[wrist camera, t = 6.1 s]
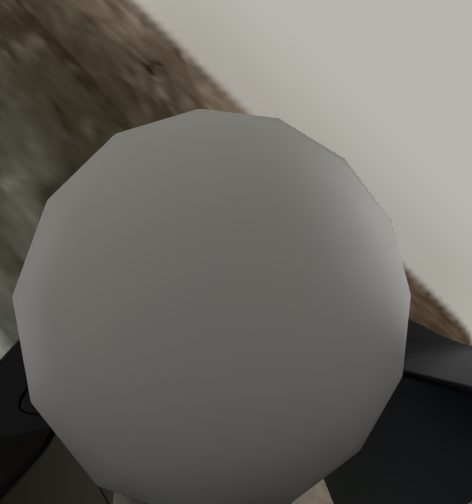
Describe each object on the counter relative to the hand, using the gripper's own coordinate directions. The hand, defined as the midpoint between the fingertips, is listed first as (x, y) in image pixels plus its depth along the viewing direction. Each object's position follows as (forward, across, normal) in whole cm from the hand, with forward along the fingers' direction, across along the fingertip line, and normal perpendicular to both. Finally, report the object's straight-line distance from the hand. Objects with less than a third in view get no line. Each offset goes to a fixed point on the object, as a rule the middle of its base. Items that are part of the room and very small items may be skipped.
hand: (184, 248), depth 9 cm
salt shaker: (+4, 0, +6) cm, 7 cm away
